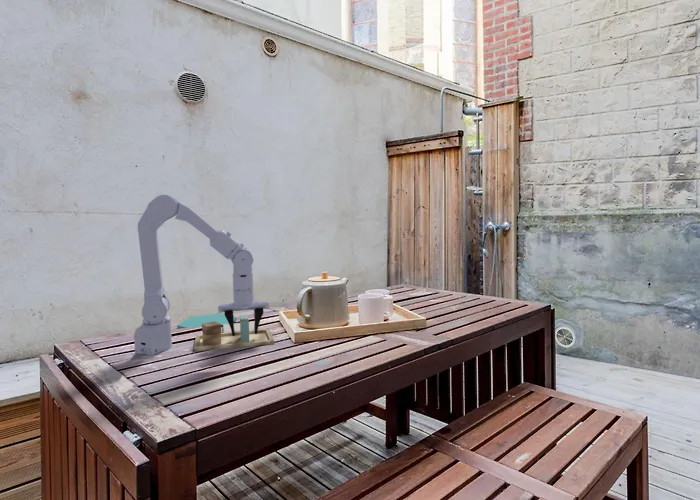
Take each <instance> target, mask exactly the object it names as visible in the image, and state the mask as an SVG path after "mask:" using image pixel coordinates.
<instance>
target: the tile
mask: <svg viewBox="0 0 700 500" xmlns="http://www.w3.org/2000/svg"><path fill="white" fill-rule="evenodd" d="M254 323H255V321H249V330H254ZM222 326H223V333H225V332H232V331H231V328H230V325H229V324H223V325H222ZM234 331H235V332H236V331H240V322H236V323H235V322H234Z"/></svg>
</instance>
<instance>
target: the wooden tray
mask: <svg viewBox="0 0 700 500" xmlns="http://www.w3.org/2000/svg"><path fill="white" fill-rule="evenodd" d="M275 344H276V343H275V338H274V336H273V334H272V331H271V330H270V328H263V329H262V328H261V329H259V328H258V331H257V334H255V333H254V330H249V342H244V343H242V342H241V335H240V331H236V332H235V336H232V332H225V333H224V332H221V344H217V345H206V346H203V333H202V334H196V335H195V339H194V346H193V352H202V351H204V352H205V351H212V350H214V351H215V350H223V349H233V348H243V347H245V348H246V347H253V346H254V347H257V346H265V345H275Z"/></svg>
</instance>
